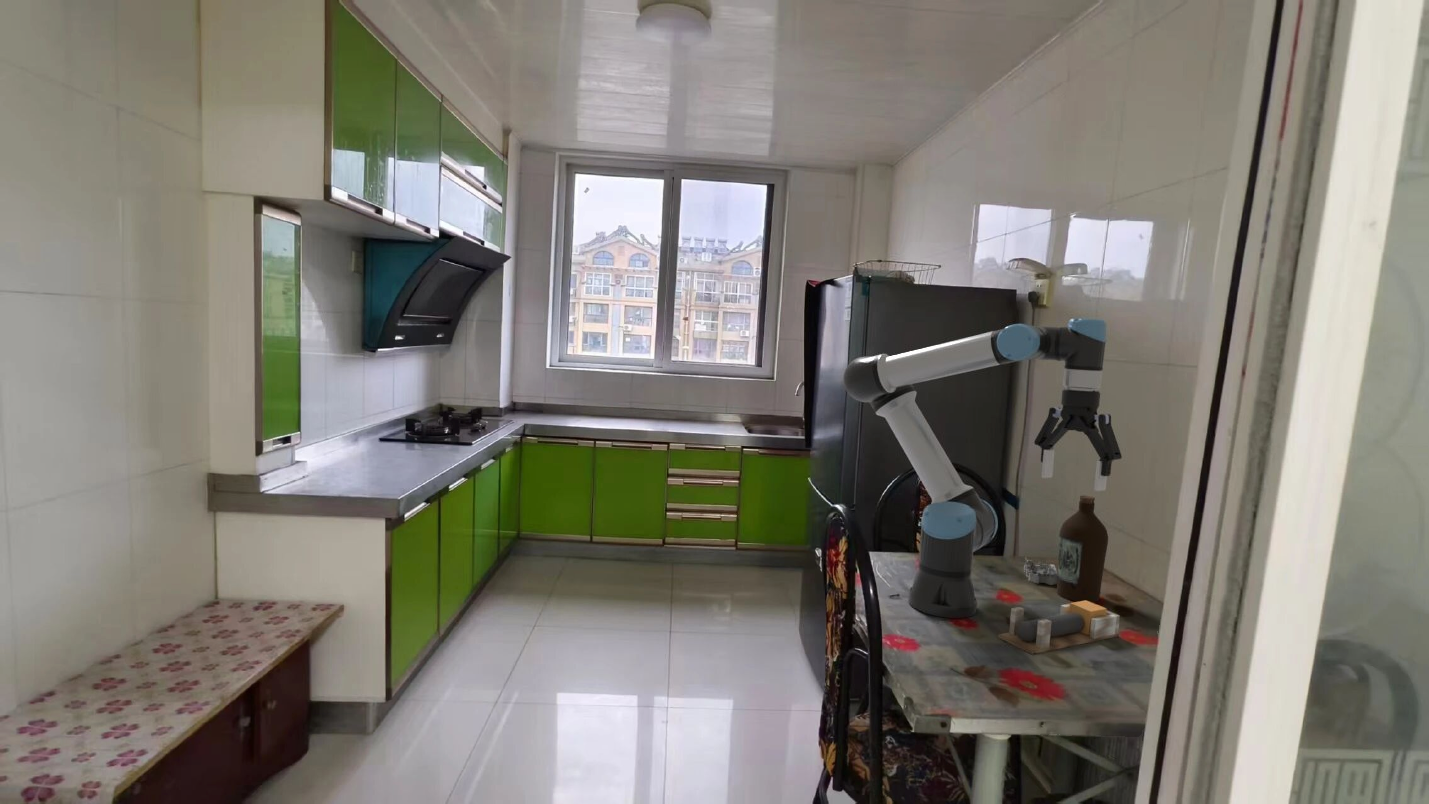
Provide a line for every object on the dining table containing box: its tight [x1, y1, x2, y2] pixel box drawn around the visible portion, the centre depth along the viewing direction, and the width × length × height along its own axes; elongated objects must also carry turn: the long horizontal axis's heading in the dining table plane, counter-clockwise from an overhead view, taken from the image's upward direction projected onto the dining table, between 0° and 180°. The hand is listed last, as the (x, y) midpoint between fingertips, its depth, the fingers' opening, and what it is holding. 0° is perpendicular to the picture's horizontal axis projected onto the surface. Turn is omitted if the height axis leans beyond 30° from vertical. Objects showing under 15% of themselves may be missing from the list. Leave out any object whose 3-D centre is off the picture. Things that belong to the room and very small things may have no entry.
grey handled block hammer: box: [1016, 600, 1108, 642], centre depth 152 cm, size 22×5×5 cm, turn 115°
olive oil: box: [1056, 495, 1109, 603], centre depth 177 cm, size 11×11×25 cm
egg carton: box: [1023, 556, 1058, 586], centre depth 191 cm, size 11×8×4 cm
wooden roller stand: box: [997, 603, 1120, 655], centre depth 153 cm, size 26×9×6 cm, turn 115°
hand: (1072, 483), depth 161 cm, fingers open, 13 cm apart
